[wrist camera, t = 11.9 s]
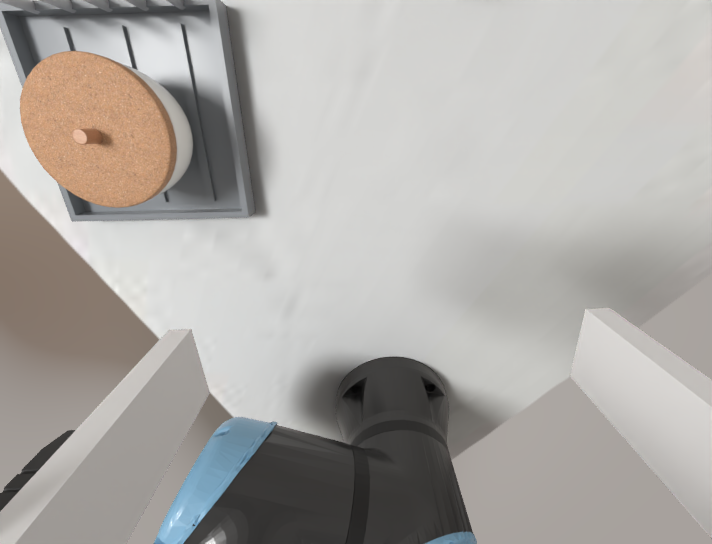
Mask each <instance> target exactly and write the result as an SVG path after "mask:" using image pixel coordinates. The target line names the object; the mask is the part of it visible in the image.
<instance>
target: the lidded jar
mask: <svg viewBox="0 0 712 544" xmlns="http://www.w3.org/2000/svg"><path fill="white" fill-rule="evenodd" d="M20 113H21V122H22V126H23V129H24V133H25V136H26V138H27V141H28V143H29V146H30V148H31V149H32V151H33V153H34V155H35V156H36V158H37V159H38V161H39V162H40V164H41V165H42V166H43V168H44V169H45V170H46V171H47V172H48V173H49V174H50V175H51V176H52V177H53V178H54V179H55V180H56V181H57V182H58V183H59V184H60V185H61V186H63V187H64V188H65V189H67V190H68V191H70V192H71V193H73V194H74V195H76V196H78V197H80V198H82V199H84V200H86V201H89V202H91V203H94V204H97V205H101V206H105V207H114V208H122V207H130V206H135V205H138V204H141V203H143V202H146V201H148V200H150V199H152V198H153V197H155V196H157V195H160V194H162V193H164V192H165V191H167V190H168V189H169V188H171V187H172V186H174V185H175V184H176V183H177V182H178V181H179V180H180V179H181V178H182V177H183V175H184V174H185V172H186V171H187V169H188V167H189V164H190V161H191V157H192V153H193V137H192V132H191V127H190V124H189V122H188V119H187V117H186V115H185V113H184V111H183V109H182V108H181V107H180V105H179V104H178V102H177V101H176V99H175V98H174V97H173V96H172V95H171V94H170V93H169V92H168V91H167V90H166V89H165V88H164V87H163V86H162V85H160V84H159V83H158V82H156V81H155V80H154V79H152V78H151V77H149V76H147V75H146V74H144V73H142V72H140V71H138V70H136V69H134V68H132V67H130V66H127V65H125V64H122V63H119V62H116V61H114V60H112V59H109V58H107V57H104V56H100V55H97V54H93V53H89V52H82V51H65V52H60V53H57V54H53V55H51V56H49V57H47V58H45V59H43V60H42V61H41V62H40V63H38V64H37V65H36V66H35V67H34V68H33V70H32V71H31V72H30V74H29V75H28V76H27V79H26V81H25V83H24V86H23V89H22V93H21V98H20Z"/></svg>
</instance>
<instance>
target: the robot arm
mask: <svg viewBox="0 0 712 544" xmlns="http://www.w3.org/2000/svg"><path fill="white" fill-rule="evenodd" d="M570 377H571V378H572V379H573V380H574V381H575V383H577V385H578V386H579V387H580V388H581V389H582V390H583V392H584V393H585V394H586V395H587V396H588V397H589V399H590V400H591V401H592V402H593V403H594V404H595V405H596V407H597V408H598V409H599V410H600V411H601V412H602V414H603V415H604V416H605V417H606V418H607V419H608V420H609V422H610V423H611V424H612V425H613V426H614V427H615V428H616V430H617V431H618V432H619V433H620V434H621V435H622V436H623V438H624V439H625V440H626V441H627V442H628V443H629V444H630V446H631V447H632V448H633V449H634V450H635V451H636V453H637V454H638V455H639V456H640V457H641V458H642V459H643V461H644V462H645V463H646V464H647V465H648V466H649V467H650V469H651V470H652V471H653V472H654V473H655V474H656V475H657V477H658V478H659V479H660V480H661V481H662V482H663V483H664V485H665V486H666V487H667V488H668V489H669V490H670V492H671V493H672V494H673V495H674V496H675V497H676V498H677V500H678V501H679V502H680V503H681V504H682V505H683V507H684V508H685V509H686V510H687V511H688V512H689V513H690V514H691V516H692V517H693V518H694V519H695V520H696V521H697V523H698V524H699V525H700V526H701V527H702V528H703V529H704V531H705V532H706V533H707V534H708V535H709V536H710V538H711V539H712V380H711V379H710V378H709V377H707V376H706V375H704V374H703V373H702V372H700V371H699V370H697V369H696V368H694V367H693V366H692V365H690V364H689V363H687V362H686V361H685V360H683V359H682V358H680V357H679V356H677V355H676V354H675V353H673V352H672V351H670V350H669V349H667V348H666V347H665V346H663V345H662V344H660V343H659V342H657V341H656V340H655V339H653V338H652V337H650V336H649V335H647V334H646V333H644V332H643V331H642V330H640V329H639V328H637V327H636V326H635V325H633V324H632V323H630V322H629V321H628V320H626V319H625V318H623V317H622V316H620V315H619V314H618V313H616V312H615V311H613V310H612V309H610V308H594V309H586V310H585V314H584V318H583V322H582V326H581V331H580V335H579V339H578V343H577V347H576V352H575V356H574V360H573V364H572V368H571V373H570ZM209 393H210V392H209V389H208V385H207V382H206V378H205V375H204V372H203V368H202V365H201V361H200V358H199V354H198V351H197V347H196V344H195V341H194V337H193V334H192V330H191V329H181V330H168V331H167V332H166V334H165V335H164V336H163V337H162V338H161V339H160V340H159V341H158V342H157V343H156V344H155V345H154V346H153V348H152V349H151V350H150V351H149V352H148V353H147V354H146V355H145V356H144V357H143V358H142V359H141V360H140V362H139V363H138V364H137V365H136V366H135V367H134V368H133V369H132V370H131V371H130V372H129V373H128V375H127V376H126V377H125V378H124V379H123V380H122V381H121V382H120V383H119V384H118V385H117V386H116V387H115V389H114V390H113V391H112V392H111V393H110V394H109V395H108V396H107V397H106V398H105V399H104V401H102V403H101V404H100V405H99V406H98V407H97V408H96V409H95V410H94V411H93V412H92V413H91V414H90V415H89V417H88V418H87V419H86V420H85V421H84V422H83V423H82V424H81V425H80V426H79V427H78V428H77V429H76V430H70V431H67V432H65V433H64V434H62V435H61V436H60V437H58V438H57V439H55V440H54V441H53V442H51V443H50V444H49V445H47V446H46V447H44V448H43V449H42V450H41V451H40V452H39V453H38V454H37V455H36V456H35V457H34V458H33V459H32V460H31V461H30V462H29V463H28V464H27V465H26V466H25V467H24V468H23V469H22V472H21V474H17V475H16V477H14V478H13V479H12V480H11V481H10V482H9V483H8V484H7V485H6V487H5V488H4V491H3V492H2V493H0V544H127V542H128V540H129V538H130V536H131V534H132V533H133V531H134V529H135V527H136V525H137V524H138V522H139V520H140V518H141V516H142V515H143V513H144V511H145V509H146V507H147V506H148V504H149V502H150V500H151V498H152V497H153V495H154V493H155V491H156V489H157V487H158V485H159V484H160V482H161V480H162V478H163V477H164V475H165V473H166V471H167V469H168V467H169V466H170V464H171V462H172V460H173V458H174V457H175V455H176V453H177V451H178V449H179V448H180V445H181V444H182V442H183V440H184V438H185V437H186V435H187V433H188V431H189V429H190V428H191V426H192V424H193V422H194V420H195V418H196V417H197V415H198V413H199V411H200V409H201V408H202V406H203V404H204V402H205V400H206V399H207V397H208V395H209ZM448 418H449V403H448V398H447V395H446V392H445V389H444V386H443V384H442V382H441V380H440V378H439V377H438V376H437V375H436V373H434V372H433V371H432V370H431V369H430V368H428V367H427V366H425V365H423V364H422V363H419V362H417V361H414V360H411V359H406V358H399V357H387V358H380V359H375V360H372V361H369V362H366V363H364V364H362V365H360V366H358V367H357V368H355V369H354V370H353V371H351V372H350V373H349V374H348V375H347V376H346V377H345V379H344V380H343V381H342V383H341V385H340V387H339V389H338V392H337V398H336V419H337V423H338V426H339V429H340V432H341V435H342V438H343V441H344V443H343V442H339V441H335V440H332V439H328V438H324V437H320V436H316V435H313V434H309V433H305V432H301V431H297V430H294V429H290V428H286V427H282V426H278V425H277V422H274V421H273V422H271V423H268V422H263V421H258V420H253V419H248V418H244V417H235V418H232V419H229V420H227V421H225V422H224V423H223V424H222V425H221V426H220V427H219V428H218V429H217V430H216V431H215V433H214V434H213V435H212V437H211V438H210V439H209V441H208V443H207V444H206V446H205V447H204V449H203V450H202V452H201V454H200V455H199V457H198V459H197V460H196V462H195V464H194V465H193V467H192V469H191V471H190V472H189V474H188V476H187V478H186V479H185V481H184V483H183V485H182V487H181V488H180V490H179V492H178V494H177V496H176V498H175V500H174V501H173V503H172V505H171V507H170V509H169V511H168V513H167V515H166V517H165V519H164V521H163V523H162V525H161V528H160V530H159V533H158V535H157V537H156V540H155V542H154V544H477V541H476V538H475V536H474V534H473V532H472V529H471V525H470V522H469V518H468V515H467V512H466V508H465V505H464V502H463V498H462V495H461V492H460V488H459V485H458V482H457V478H456V475H455V472H454V468H453V465H452V461H451V458H450V455H449V451H448V448H447V444H446V443H447V430H448Z"/></svg>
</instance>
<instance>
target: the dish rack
mask: <svg viewBox="0 0 712 544" xmlns="http://www.w3.org/2000/svg"><path fill="white" fill-rule="evenodd" d="M0 28H1V31H2V34H3V36H4V39H5V42H6V45H7V47H8V50H9V53H10V55H11V58H12V61H13V64H14V66H15V69H16V72H17V74H18V77H19V80H20V82H21V85H22V88H23V86H24V83H25V81H26V79H27V76H28V75H29V74H30V72H31V71H32V70H33V68H34V67H35V66H36V65H37V64H38V63H40V62H41V61H42V60H43V59H45V58H47V57H49V56H51V55H53V54H57V53H60V52H65V51H82V52H89V53H93V54H97V55H100V56H104V57H107V58H109V59H112V60H114V61H116V62H119V63H122V64H125V65H127V66H130V67H132V68H134V69H136V70H138V71H140V72H142V73H144V74H146V75H147V76H149V77H151V78H152V79H154V80H155V81H156V82H158V83H159V84H160V85H162V86H163V87H164V88H165V89H166V90H167V91H168V92H169V93H170V94H171V95H172V96H173V97H174V98H175V99H176V101H177V102H178V104H179V105H180V107H181V108H182V109H183V111H184V113H185V115H186V117H187V119H188V122H189V124H190V127H191V132H192V137H193V153H192V157H191V161H190V164H189V167H188V169H187V171H186V172H185V174H184V175H183V177H182V178H181V179H180V180H179V181H178V182H177V183H176V184H175V185H174V186H172V187H171V188H169V189H168V190H167V191H165V192H164V193H162V194H160V195H157V196H155V197H153V198H152V199H150V200H148V201H146V202H143V203H141V204H138V205H135V206H130V207H122V208H114V207H105V206H101V205H97V204H94V203H91V202H89V201H86V200H84V199H82V198H80V197H78V196H76V195H74V194H73V193H71V192H70V191H68V190H67V189H65V188H64V187H63V186H61V185H60V184H59V183H58V182H57V183H58V185H59V188H60V191H61V193H62V196H63V199H64V202H65V204H66V207H67V210H68V212H69V215H70V218H71V220H72V221H112V220H154V219H196V218H239V217H250V216H251V215H252V214H253V213H254V212H255V204H254V197H253V191H252V184H251V177H250V170H249V163H248V156H247V149H246V142H245V135H244V128H243V122H242V115H241V108H240V101H239V94H238V87H237V80H236V73H235V66H234V59H233V53H232V46H231V39H230V32H229V25H228V18H227V11H226V5H225V4H224V3H223V2H221V1H220V0H38V1H33V0H0Z"/></svg>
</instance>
